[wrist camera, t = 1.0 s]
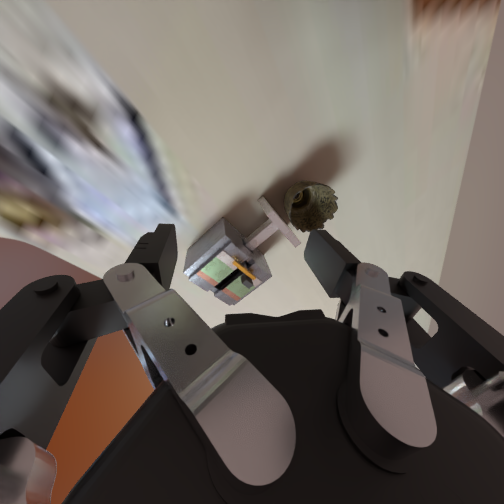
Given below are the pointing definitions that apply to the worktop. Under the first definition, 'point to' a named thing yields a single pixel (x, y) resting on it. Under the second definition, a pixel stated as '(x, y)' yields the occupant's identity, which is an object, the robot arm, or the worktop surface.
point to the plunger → (266, 234)
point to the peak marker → (247, 281)
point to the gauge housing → (224, 263)
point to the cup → (310, 205)
